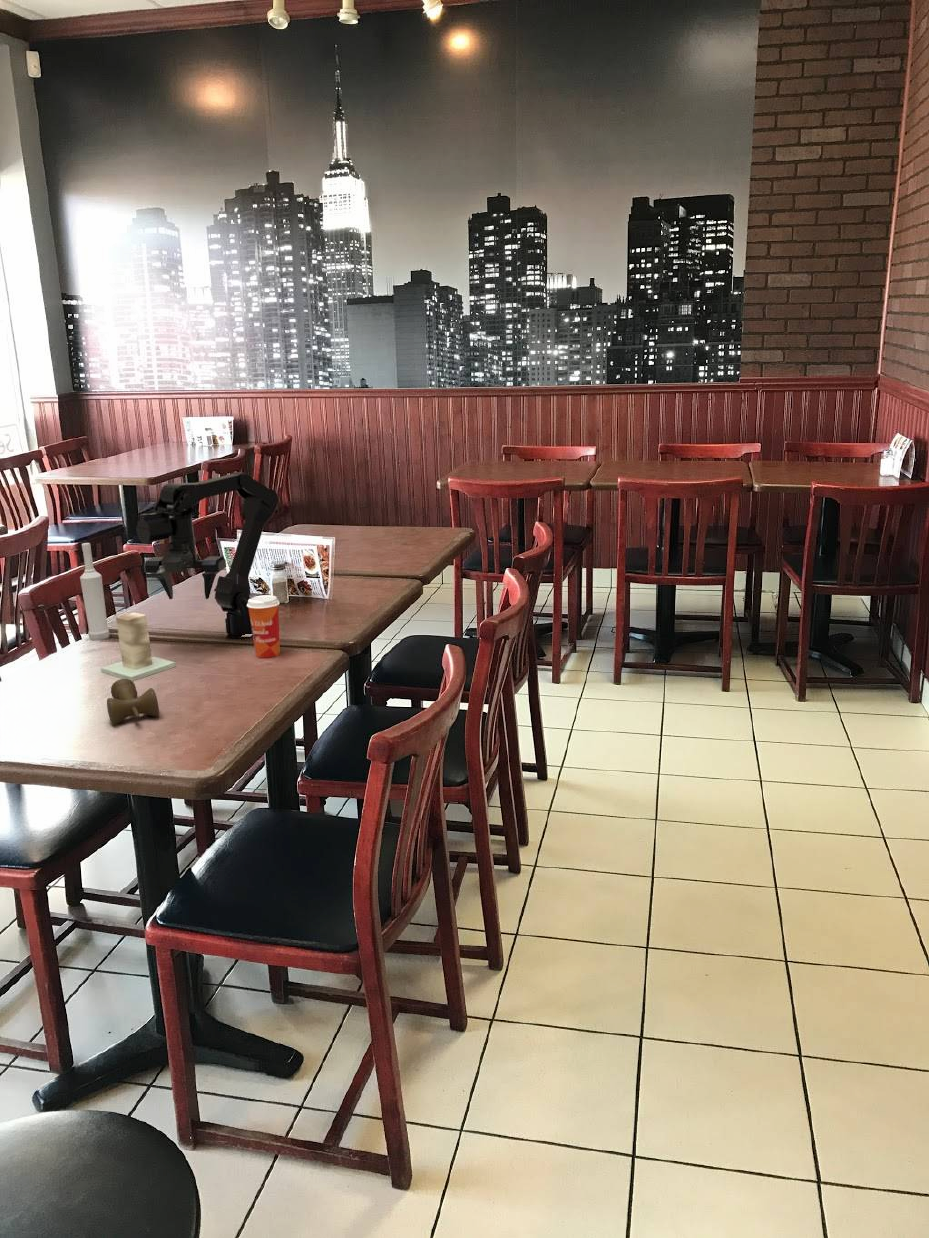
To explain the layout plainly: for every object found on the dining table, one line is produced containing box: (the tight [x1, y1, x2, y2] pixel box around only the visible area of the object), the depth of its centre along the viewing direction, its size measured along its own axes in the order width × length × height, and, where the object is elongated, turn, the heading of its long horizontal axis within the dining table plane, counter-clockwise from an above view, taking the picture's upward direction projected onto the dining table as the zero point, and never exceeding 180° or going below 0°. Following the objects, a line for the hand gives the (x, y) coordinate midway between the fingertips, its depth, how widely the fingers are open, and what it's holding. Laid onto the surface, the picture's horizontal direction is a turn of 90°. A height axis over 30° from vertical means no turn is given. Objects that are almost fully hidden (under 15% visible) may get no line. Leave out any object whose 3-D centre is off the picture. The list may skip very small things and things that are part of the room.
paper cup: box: [247, 594, 281, 659], centre depth 240 cm, size 8×8×14 cm
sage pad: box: [100, 655, 176, 682], centre depth 234 cm, size 12×12×1 cm
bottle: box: [79, 542, 110, 641], centre depth 258 cm, size 5×5×25 cm
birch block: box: [115, 611, 153, 670], centre depth 233 cm, size 5×5×12 cm
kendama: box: [106, 678, 160, 726], centre depth 206 cm, size 6×10×20 cm
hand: (189, 598), depth 244 cm, fingers open, 9 cm apart
